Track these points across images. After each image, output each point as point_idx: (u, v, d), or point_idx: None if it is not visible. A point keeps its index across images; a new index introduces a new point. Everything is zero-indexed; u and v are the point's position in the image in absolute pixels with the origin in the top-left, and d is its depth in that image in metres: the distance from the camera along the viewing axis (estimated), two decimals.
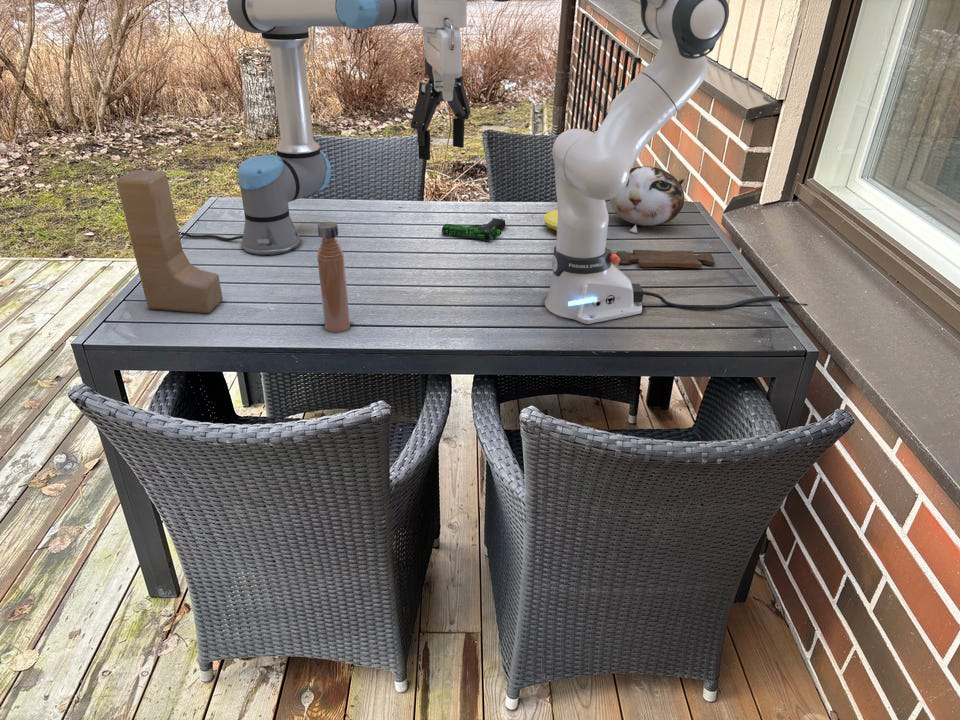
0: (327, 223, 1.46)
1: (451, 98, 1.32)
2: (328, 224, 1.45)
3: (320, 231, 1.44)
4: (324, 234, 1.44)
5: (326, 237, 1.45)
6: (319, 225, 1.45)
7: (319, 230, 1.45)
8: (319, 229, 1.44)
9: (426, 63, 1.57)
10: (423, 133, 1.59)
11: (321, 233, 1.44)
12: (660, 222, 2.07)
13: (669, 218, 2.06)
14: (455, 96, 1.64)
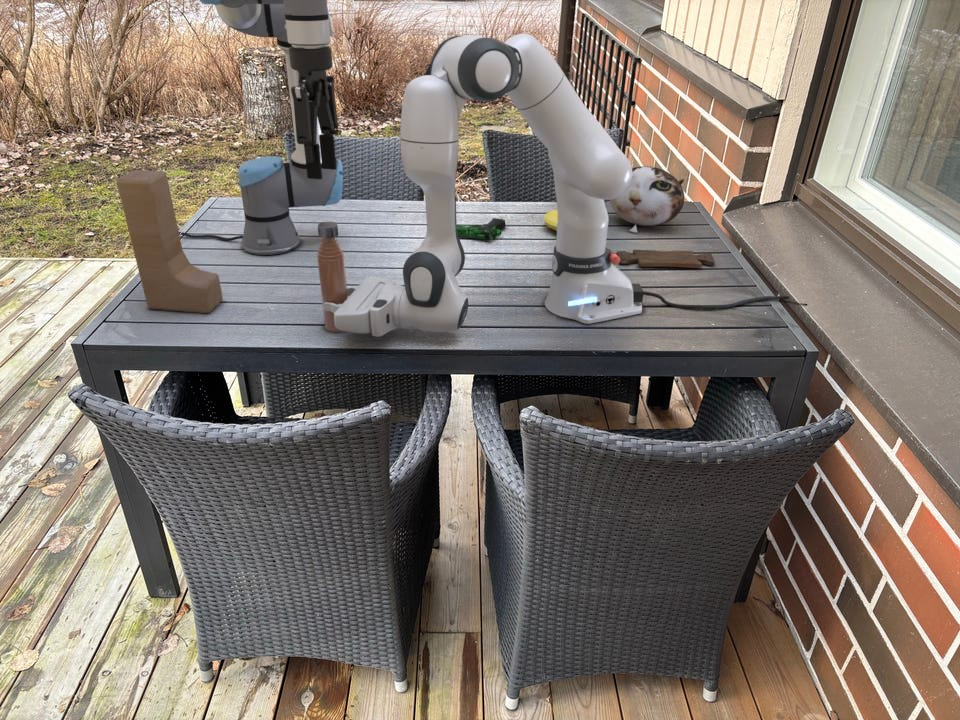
0: (327, 223, 1.46)
1: None
2: (328, 224, 1.45)
3: (320, 231, 1.44)
4: (324, 234, 1.44)
5: (326, 237, 1.45)
6: (319, 225, 1.45)
7: (319, 230, 1.45)
8: (319, 229, 1.44)
9: None
10: None
11: (321, 233, 1.44)
12: (660, 222, 2.07)
13: (669, 218, 2.06)
14: None
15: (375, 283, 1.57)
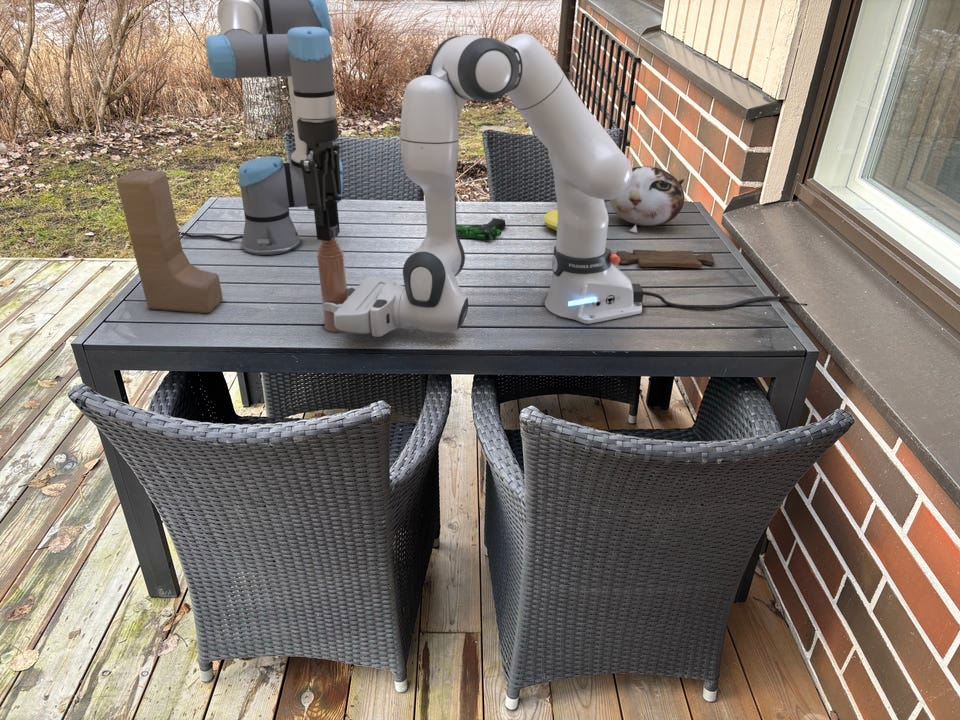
0: None
1: None
2: None
3: None
4: None
5: None
6: None
7: None
8: None
9: None
10: None
11: None
12: (660, 222, 2.07)
13: (669, 218, 2.06)
14: None
15: (375, 283, 1.57)
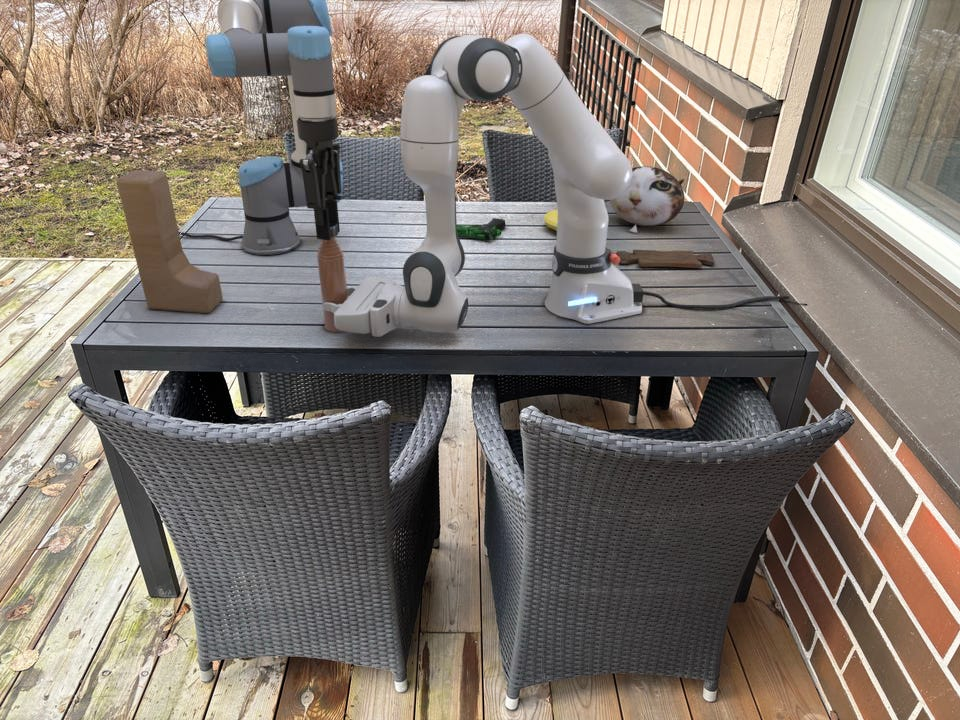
0: None
1: None
2: None
3: (336, 229, 1.45)
4: None
5: None
6: (331, 226, 1.44)
7: (335, 229, 1.45)
8: (335, 228, 1.45)
9: None
10: None
11: (337, 230, 1.46)
12: (660, 222, 2.07)
13: (669, 218, 2.06)
14: None
15: (375, 283, 1.57)
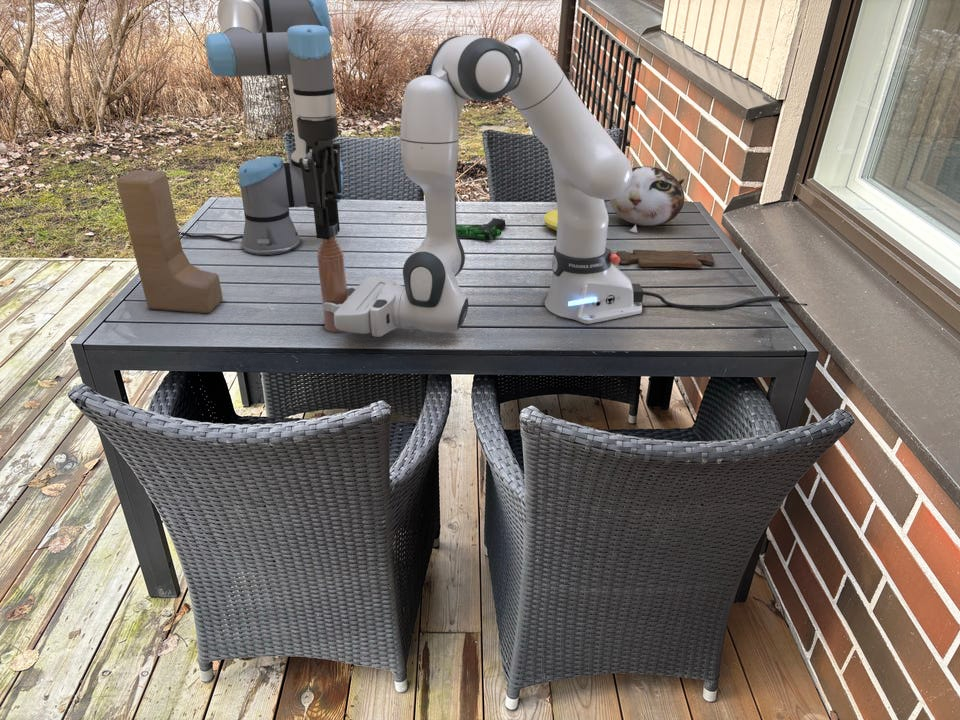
0: (330, 223, 1.45)
1: None
2: None
3: None
4: None
5: None
6: (331, 220, 1.46)
7: None
8: None
9: None
10: None
11: None
12: (660, 222, 2.07)
13: (669, 218, 2.06)
14: None
15: (375, 283, 1.57)
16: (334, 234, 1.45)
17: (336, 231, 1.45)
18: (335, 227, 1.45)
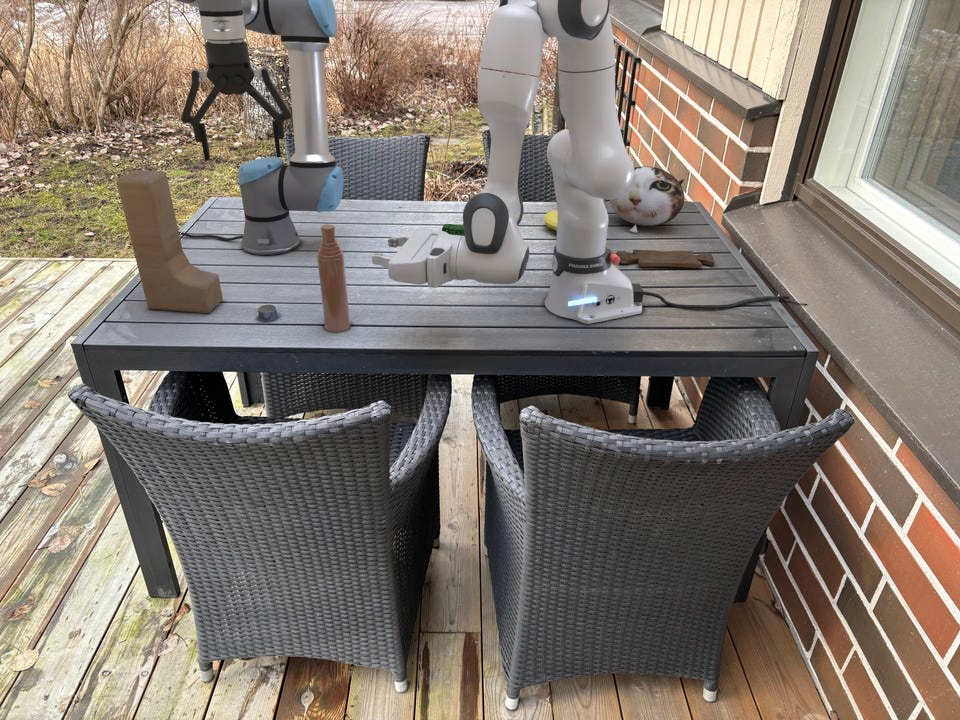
0: (263, 309, 1.59)
1: None
2: (265, 308, 1.59)
3: (274, 313, 1.59)
4: (276, 313, 1.60)
5: (276, 315, 1.61)
6: (269, 311, 1.58)
7: (273, 313, 1.59)
8: (273, 312, 1.59)
9: None
10: (195, 128, 1.37)
11: (275, 314, 1.59)
12: (660, 222, 2.07)
13: (669, 218, 2.06)
14: (249, 92, 1.35)
15: (427, 234, 1.48)
16: (259, 317, 1.59)
17: (259, 316, 1.59)
18: (258, 312, 1.58)
